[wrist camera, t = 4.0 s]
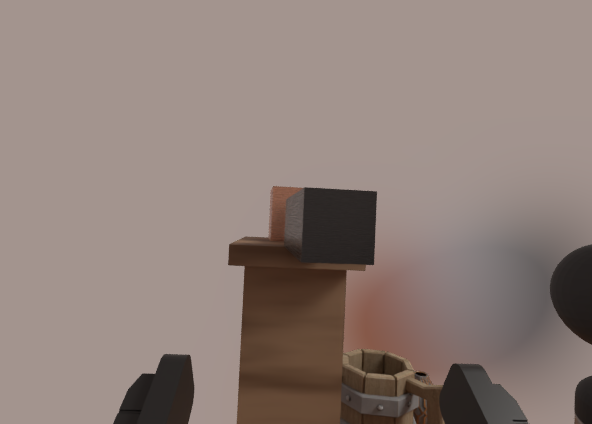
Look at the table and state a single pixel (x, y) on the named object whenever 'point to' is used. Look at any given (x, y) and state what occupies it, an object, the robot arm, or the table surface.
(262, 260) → the walnut stand
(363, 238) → the orange and black bar
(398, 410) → the tankard
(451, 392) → the robot arm
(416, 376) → the vase
